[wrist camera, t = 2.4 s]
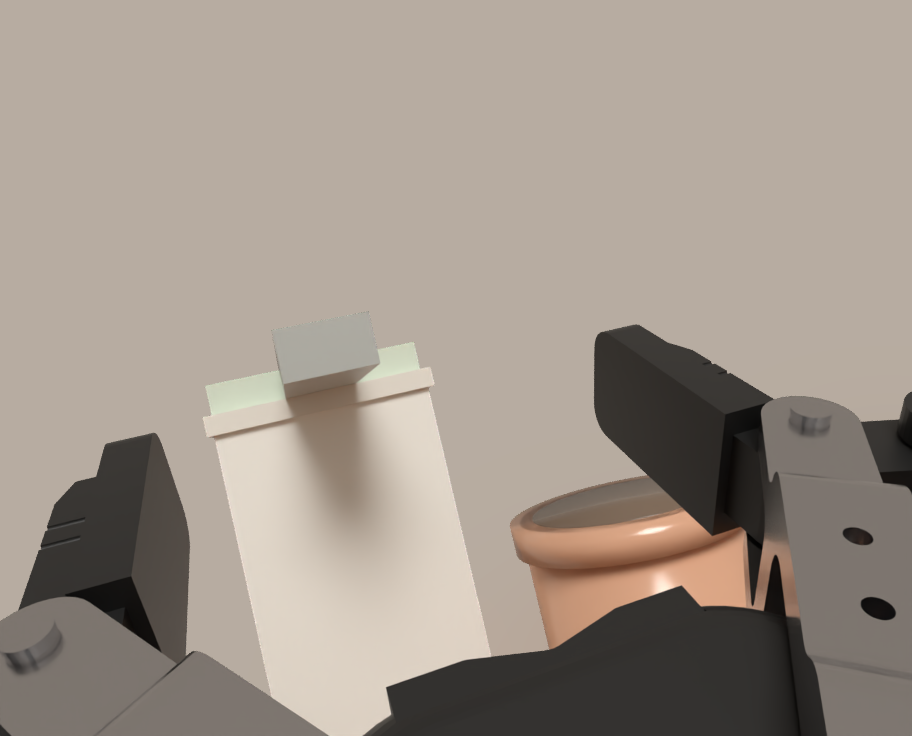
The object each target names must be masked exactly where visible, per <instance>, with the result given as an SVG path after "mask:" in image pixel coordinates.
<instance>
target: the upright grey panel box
mask: <svg viewBox="0 0 912 736" xmlns="http://www.w3.org/2000/svg"><path fill="white" fill-rule="evenodd" d="M434 385H435V384H434V381H433V376H432V372H431V367H427V368H422V369H418V370H413V371H409V372H404V373H400V374H395V375H391V376H386V377H382V378H377V379H373V380H368V381H364V382H359V383H355V384H350V385H346V386H341V387H337V388H332V389H328V390H323V391H319V392H314V393H310V394H305V395H301V396H296V397H292V398H287V399H283V400H278V401H274V402H269V403H265V404H260V405H256V406H251V407H247V408H242V409H238V410H233V411H229V412H224V413H220V414H215V415H211V416H206V417H203V422H204V426H205V431H206V435H207V437H214V438H215V443H216V447H217V451H218V456H219V461H220V465H221V470H222V474H223V479H224V483H225V488H226V492H227V497H228V502H229V506H230V511H231V515H232V520H233V524H234V529H235V533H236V538H237V543H238V546H239V551H240V556H241V561H242V565H243V570H244V574H245V579H246V584H247V588H248V592H249V597H250V602H251V606H252V610H253V615H254V620H255V624H256V629H257V633H258V638H259V643H260V647H261V652H262V656H263V661H264V666H265V670H266V674H267V679H268V684H269V688H270V693H271V697H272V698H273V699H275V700H276V701H278V702H279V703H281V704H282V705H284V706H285V707H287V708H288V709H290V710H291V711H293V712H294V713H296V714H297V715H299V716H300V717H302V718H303V719H305V720H306V721H308V722H309V723H311V724H312V725H314V726H315V727H317V728H318V729H320V730H321V731H323V732H324V733H326V734H327V735H329V736H363V735H364V734H365V733H367V732H368V731H369V730H370V729H371V728H373V727H374V726H375V725H376V724H378V723H379V722H381V721H382V720H384V719H385V718H387V717H388V716H390V715H391V711H390V706H389V701H388V696H387V691H386V687H388V686H391V685H394V684H397V683H399V682H402V681H405V680H408V679H411V678H414V677H417V676H420V675H423V674H426V673H428V672H431V671H434V670H437V669H440V668H443V667H446V666H449V665H452V664H455V663H457V662H460V661H463V660H468V659H476V658H485V657H491V652H490V648H489V644H488V640H487V636H486V631H485V627H484V623H483V618H482V614H481V610H480V606H479V601H478V597H477V593H476V589H475V584H474V580H473V576H472V572H471V567H470V563H469V559H468V554H467V550H466V546H465V542H464V537H463V533H462V529H461V525H460V520H459V516H458V512H457V508H456V503H455V499H454V495H453V491H452V486H451V482H450V478H449V473H448V469H447V465H446V461H445V456H444V452H443V448H442V444H441V439H440V435H439V431H438V427H437V422H436V418H435V414H434V410H433V405H432V401H431V397H430V393H429V388H428V387H431V386H434Z"/></svg>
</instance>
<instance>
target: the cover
mask: <svg viewBox="0 0 912 736" xmlns="http://www.w3.org/2000/svg"><path fill="white" fill-rule="evenodd" d="M272 336H273V341H274V347H275V352H276V358H277V363H278V368H279V370H278V371H273V372H269V373H264V374H259V375H255V376H250V377H245V378H240V379H235V380H231V381H226V382H222V383H217V384H212V385H207V386H205V387H206V392H207V396H208V401H209V405H210V410H211V414H212V415H215V414H220V413H224V412H229V411H233V410H238V409H242V408H247V407H251V406H256V405H260V404H265V403H269V402H274V401H278V400H283V399H287V398H292V397H296V396H301V395H305V394H310V393H314V392H319V391H323V390H328V389H332V388H337V387H341V386H346V385H350V384H355V383H359V382H364V381H368V380H373V379H377V378H382V377H386V376H391V375H395V374H400V373H404V372H409V371H413V370H418V369H420V367H419V362H418V358H417V354H416V350H415V345H414V342H411V343H406V344H402V345H397V346H392V347H387V348H383V349H378V350H377V346H376V342H375V337H374V333H373V329H372V325H371V320H370V315H369V312H363V313H358V314H353V315H348V316H343V317H337V318H332V319H327V320H322V321H318V322H312V323H307V324H302V325H297V326H292V327H286V328H281V329H276V330H272Z"/></svg>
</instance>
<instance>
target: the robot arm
mask: <svg viewBox="0 0 912 736" xmlns="http://www.w3.org/2000/svg"><path fill="white" fill-rule="evenodd" d="M594 357H595V358H594V360H595V361H594V370H595V371H594V408H595V413H596V417H597V420H598V423H599V426H600V428H601V429H602V431H603V432H604V434H605V435H606V436H607V437H608V438H609V439H610V440H611V441H612V442H613V443H614V444H616V445H617V446H618V447H619V448H620V449H621V450H622V451H623V452H624V453H625V454H626V455H627V456H628V457H629V458H630V459H631V460H632V461H633V462H635V463H636V464H637V465H638V466H639V467H640V468H641V469H642V470H643V471H644V472H645V473H646V474H647V475H648V476H649V477H650V478H651V479H652V480H653V481H655V482H656V483H657V484H658V485H659V486H660V487H661V488H662V489H663V490H664V491H665V492H666V493H667V494H668V495H669V496H670V497H671V498H672V499H673V500H675V501H676V502H677V503H678V504H679V505H680V506H681V507H682V508H683V509H684V510H685V511H686V512H687V513H688V514H689V515H690V516H691V517H692V518H694V519H695V520H696V521H697V522H698V523H699V524H700V525H701V526H702V527H703V528H704V529H705V530H706V531H707V532H708V533H709V534H710V535H711V536H714V535H717V534H720V533H724V532H727V531H730V530H733V529H736V528H739V527H741V528H742V529H744V530H745V535H744V542H743V562H744V578H745V595H746V608H745V607H734V606H700V605H699V604H698V603H697V602H696V600H695V599H694V598H693V597H692V596H691V595H690V594H689V593H688V592H687V590H686V589H685V588H684V587H683V586H682V585H681V586H678V587H675V588H672V589H669V590H666V591H663V592H660V593H657V594H655V595H652V596H649V597H646V598H643V599H640V600H637V601H634V602H631V603H628V604H626V605H623V606H620V607H617V608H615V609H613V610H612V611H610V612H609V613H607V614H606V615H604V616H603V617H601V618H600V619H598V620H597V621H595V622H594V623H592V624H591V625H589V626H588V627H586V628H585V629H583V630H582V631H580V632H579V633H577V634H576V635H574V636H573V637H571V638H570V639H568V640H566V641H565V642H563V643H562V644H560V645H559V646H557V647H555V648H553V649H550V650H545V651H538V652H529V653H521V654H512V655H503V656H495V657H485V658H476V659H468V660H463V661H460V662H457V663H455V664H452V665H449V666H446V667H443V668H440V669H437V670H434V671H431V672H428V673H426V674H423V675H420V676H417V677H414V678H411V679H408V680H405V681H402V682H399V683H397V684H394V685H391V686H388V687H386V691H387V696H388V701H389V706H390V711H391V715H390V716H388V717H387V718H385V719H384V720H382V721H381V722H379V723H378V724H376V725H375V726H374V727H373V728H371V729H370V730H369V731H368V732H367V733H365V734H364V735H363V736H912V392H910V393H909V394H907V395H906V397H905V399H904V403H903V407H902V411H901V415H900V419H899V420H884V421H868V422H860V420H859V418H858V417H857V416H856V415H855V414H854V413H853V412H851V411H850V410H849V409H847V408H845V407H843V406H841V405H839V404H836V403H834V402H831V401H827V400H823V399H819V398H813V397H805V396H789V397H781V398H777V399H773V398H771V397H769V396H767V395H766V394H764V393H763V392H761V391H759V390H758V389H756V388H754V387H753V386H751V385H749V384H748V383H746V382H744V381H743V380H741V379H739V378H738V377H736V376H734V375H733V374H731V373H729V374H727V371H726V370H725V369H723V368H721V367H719V366H718V365H716V364H712V363H711V361H710V360H708V359H706V358H705V357H703V356H701V355H700V354H698V353H696V352H695V351H693V350H690V349H687V348H684V347H680V346H677V345H673V344H670V343H667V342H666V341H664V340H663V339H661V338H659V337H658V336H656V335H654V334H653V333H651V332H650V331H648V330H646V329H644V328H643V327H641V326H640V325H631V326H627V327H622V328H618V329H613V330H609V331H605V332H601V333H600V334H598V336H597V337H596V341H595V353H594ZM47 528H48V531H45V534H44V537H43V540H42V543H41V550H39V551H38V554H37V557H36V560H35V563H34V566H33V569H32V572H31V575H30V578H29V581H28V583H27V586H26V589H25V592H24V595H23V598H22V601H21V604H20V607H19V610H18V611H17V612H14V613H13V614H11V615H10V616H8V617H6V618H5V619H3V620H1V621H0V736H329V735H327V734H326V733H324V732H323V731H321V730H320V729H318V728H317V727H315V726H314V725H312V724H311V723H309V722H308V721H306V720H305V719H303V718H302V717H300V716H299V715H297V714H296V713H294V712H293V711H291V710H290V709H288V708H287V707H285V706H284V705H282V704H281V703H279V702H278V701H276V700H275V699H273V698H272V697H270V696H268V695H267V694H266V693H264V692H262V691H261V690H259V689H258V688H256V687H255V686H253V685H252V684H250V683H249V682H247V681H246V680H244V679H243V678H241V677H240V676H238V675H237V674H235V673H234V672H232V671H231V670H229V669H228V668H226V667H225V666H223V665H222V664H220V663H219V662H217V661H216V660H214V659H213V658H211V657H209V656H208V655H206V654H204V653H201V652H198V651H193V652H191V653H189V654H188V655H187V656H186V632H187V605H188V579H189V553H190V542H189V532H188V526H187V521H186V517H185V513H184V510H183V506H182V504H181V501H180V497H179V494H178V492H177V489H176V486H175V483H174V480H173V477H172V474H171V471H170V468H169V465H168V462H167V459H166V456H165V453H164V450H163V447H162V444H161V442H160V439H159V437H158V436H157V434H156V433H151V434H147V435H143V436H138V437H134V438H129V439H125V440H120V441H116V442H111V443H107V444H106V445H105V447H104V450H103V454H102V458H101V461H100V465H99V469H98V472H97V476H96V477H94V478H90V479H85V480H81V481H77V482H75V483H74V484H73V485H72V486H71V487H70V489H69V490H68V491H67V492H66V493H65V494H64V495H63V496H62V497H61V498H60V499H59V500H58V502H56V504H55V505H54V508H53V511H52V514H51V517H50V520H49V523H48V525H47Z"/></svg>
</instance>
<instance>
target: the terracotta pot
mask: <svg viewBox="0 0 912 736" xmlns="http://www.w3.org/2000/svg"><path fill="white" fill-rule="evenodd" d="M510 528H511V532H512V537H513V541H514V545H515V549H516V553H517V556H518V558H519V559H520V560H521V561H523V562H525V563H527V564H529V566H530V570H531V574H532V578H533V583H534V587H535V591H536V595H537V600H538V604H539V608H540V612H541V616H542V620H543V624H544V629H545V633H546V637H547V641H548V646H549V650H550V649H553V648H555V647H557V646H559V645H560V644H562V643H563V642H565V641H566V640H568V639H570V638H571V637H573V636H574V635H576V634H577V633H579V632H580V631H582V630H583V629H585V628H586V627H588V626H589V625H591V624H592V623H594V622H595V621H597V620H598V619H600V618H601V617H603V616H604V615H606V614H607V613H609V612H610V611H612V610H613V609H615V608H617V607H620V606H623V605H626V604H628V603H631V602H634V601H637V600H640V599H643V598H646V597H649V596H652V595H655V594H657V593H660V592H663V591H666V590H669V589H672V588H675V587H678V586H681V585H682V586H683V587H684V588H685V589H686V590H687V592H688V593H689V594H690V595H691V596H692V597H693V598H694V599H695V600H696V602H697V603H698V604H699V605H700V606H734V607H745V608H746V595H745V578H744V562H743V542H744V535H745V530H744V529H742V528H741V527H739V528H736V529H733V530H730V531H727V532H724V533H720V534H717V535H714V536H711V535H710V534H709V533H708V532H707V531H706V530H705V529H704V528H703V527H702V526H701V525H700V524H699V523H698V522H697V521H696V520H695V519H694V518H692V517H691V516H690V515H689V514H688V513H687V512H686V511H685V510H684V509H683V508H682V507H681V506H680V505H679V504H678V503H677V502H676V501H675V500H673V499H672V498H671V497H670V496H669V495H668V494H667V493H666V492H665V491H664V490H663V489H662V488H661V487H660V486H659V485H658V484H657V483H656V482H655V481H653V480H652V479H651V478H650V477H649V476H648V475H647V476H640V477H635V478H629V479H624V480H619V481H614V482H609V483H605V484H601V485H596V486H592V487H588V488H585V489H581V490H577V491H574V492H570V493H567V494H564V495H561V496H558V497H555V498H552V499H550V500H547V501H544V502H542V503H539V504H537V505H535V506H533V507H531V508H529V509H527V510H525V511H523V512H521V513H520V514H518V515H517V516H516V517H515V518H514V519H513V520H512V521H511V523H510Z"/></svg>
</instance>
